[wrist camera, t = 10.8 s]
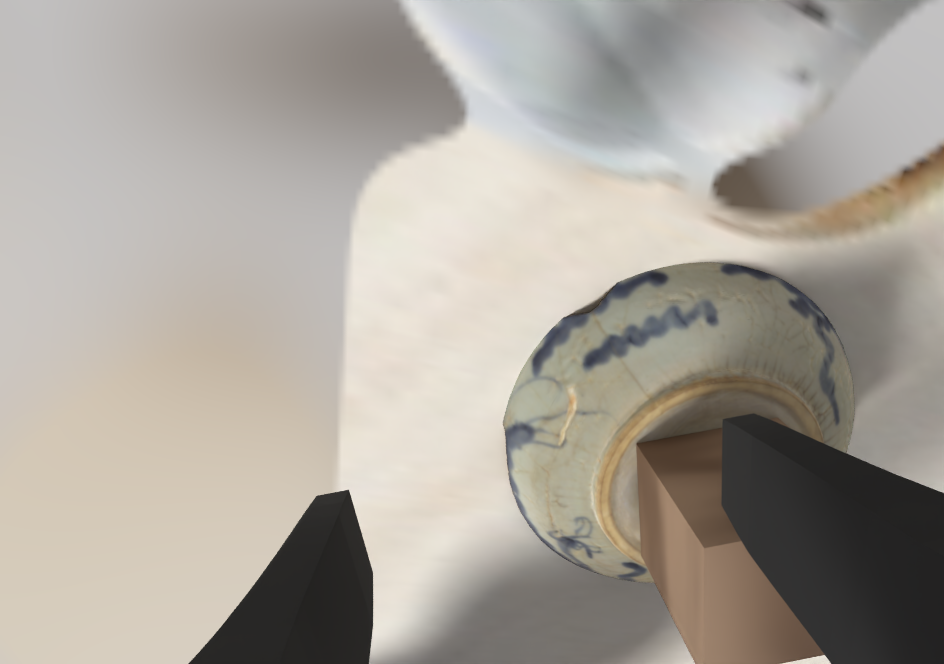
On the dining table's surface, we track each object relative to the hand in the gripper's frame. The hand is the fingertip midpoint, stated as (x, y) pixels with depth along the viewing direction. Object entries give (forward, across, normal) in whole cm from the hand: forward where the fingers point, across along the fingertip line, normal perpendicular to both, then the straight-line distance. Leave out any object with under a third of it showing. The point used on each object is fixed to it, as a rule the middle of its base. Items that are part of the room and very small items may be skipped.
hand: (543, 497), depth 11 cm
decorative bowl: (+11, -7, +7) cm, 15 cm away
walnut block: (+7, -7, +7) cm, 12 cm away
